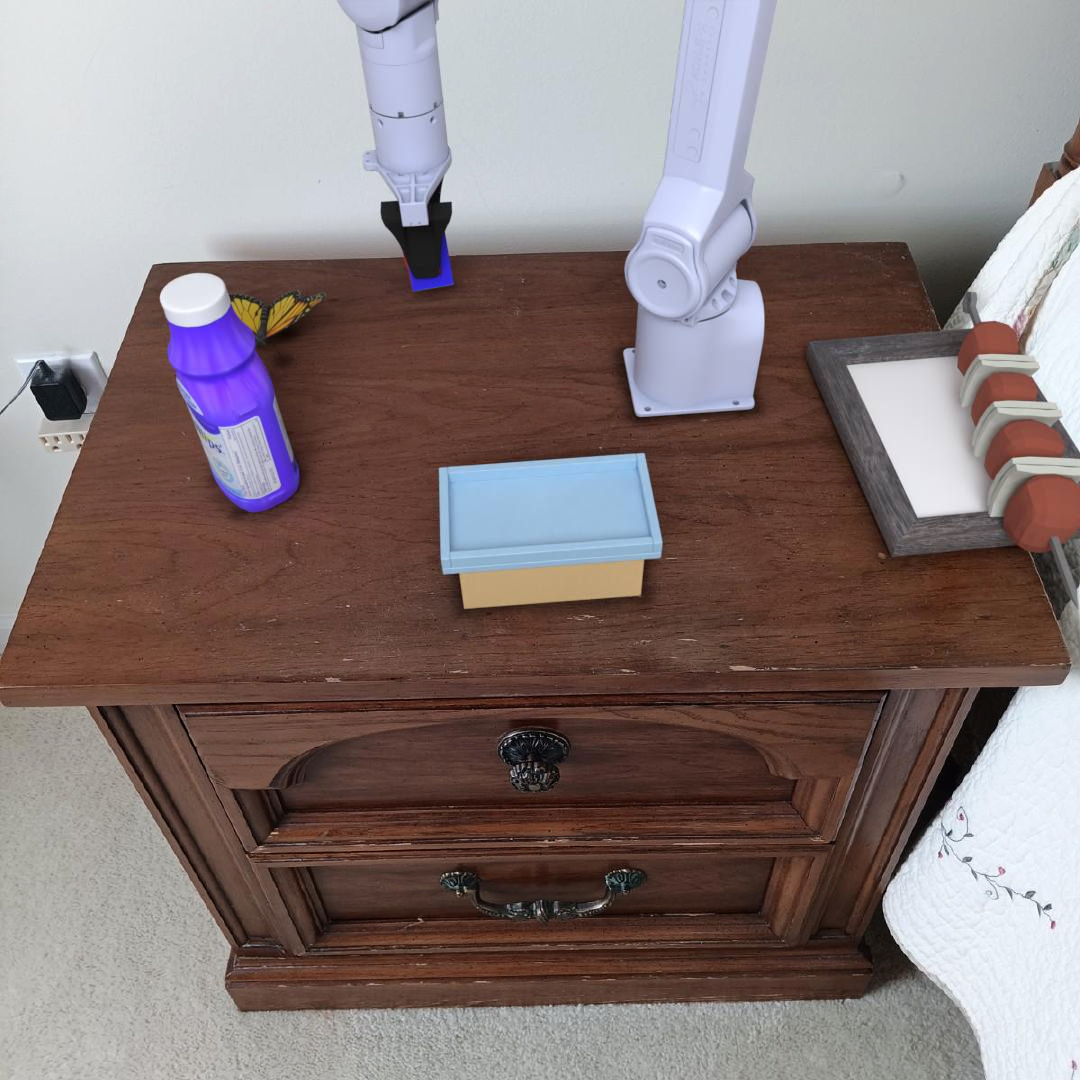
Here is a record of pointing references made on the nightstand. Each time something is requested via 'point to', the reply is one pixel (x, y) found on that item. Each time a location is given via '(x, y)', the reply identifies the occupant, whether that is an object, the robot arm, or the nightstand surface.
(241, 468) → the bottle
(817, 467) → the nightstand surface
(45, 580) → the nightstand surface
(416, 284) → the toy building block
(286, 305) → the butterfly
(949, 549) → the picture frame
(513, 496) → the stand
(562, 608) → the nightstand surface
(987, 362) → the skewer
